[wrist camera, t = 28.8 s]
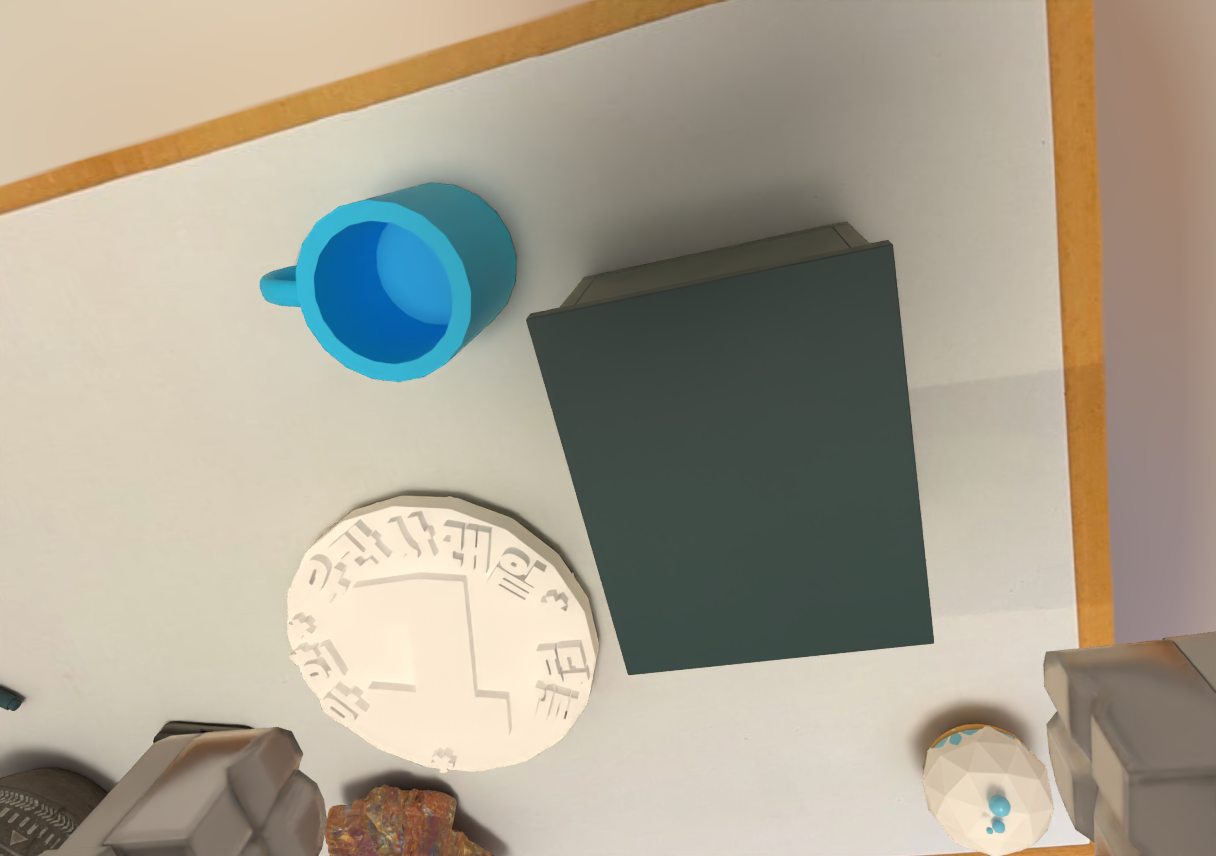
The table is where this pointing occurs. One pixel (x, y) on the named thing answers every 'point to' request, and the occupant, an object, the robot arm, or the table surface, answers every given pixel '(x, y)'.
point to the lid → (746, 461)
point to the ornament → (987, 789)
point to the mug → (400, 279)
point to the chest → (716, 262)
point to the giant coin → (443, 633)
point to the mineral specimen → (398, 826)
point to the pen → (9, 701)
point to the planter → (43, 809)
